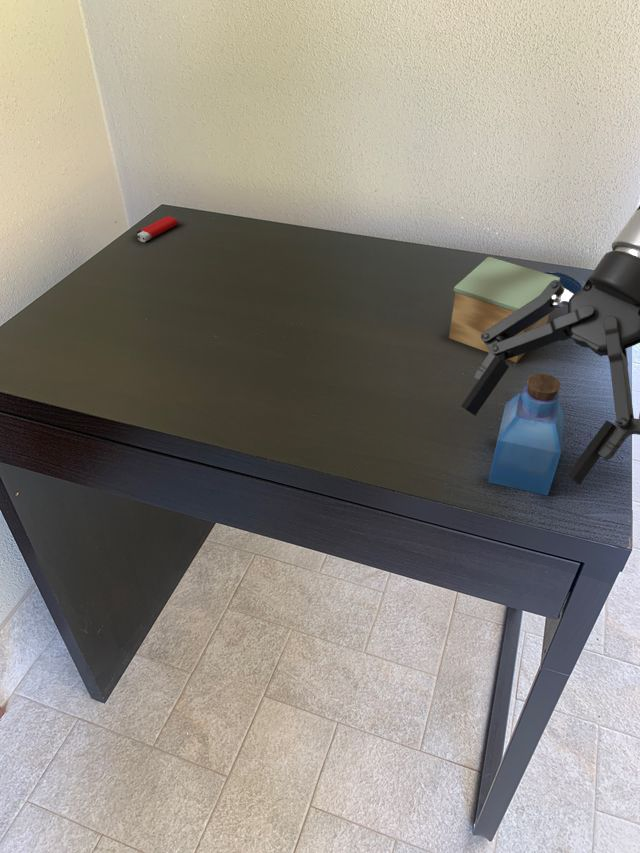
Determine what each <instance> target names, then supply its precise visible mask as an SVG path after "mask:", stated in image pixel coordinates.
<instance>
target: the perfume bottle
mask: <svg viewBox="0 0 640 853" xmlns="http://www.w3.org/2000/svg"><path fill="white" fill-rule="evenodd" d="M560 388H561V382H560V381H559V379H558V378H557V377H555V376H553V375H551V374H548V373H543V372H542V373H541V372H539V373H538V372H537V373H534V374H531V375H530V376H528V378H527V384H526V385H524V387H523V391H522V393H519V392H518V394H516V395H515V396H514V397H512V398H511V399H510V400H508V401H507V402H505V406H504V409H503V414H502V418H501V423H500V427H499V432H498V436H497V440H496V445H495V450H494V455H493V459H492V464H491V468H490V473H489V478H488V483H490V484H494V485H497V486H502V487H507V488H512V489H516V490H519V491H524V492H529V493H534V494H538V495H542V496H549V492H550V490H551V486H552V483H553V481H554V480H553V479H554V476H555V473H556V470H557V467H558V464H559V461H560V458H561V454H562V446H563V437H564V428H565V419H566V413H565V412H564V409H563V407H562V405H561V403H560V401H559V398H560V392H559V391H560Z"/></svg>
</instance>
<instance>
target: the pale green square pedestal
mask: <svg viewBox="0 0 640 853" xmlns="http://www.w3.org/2000/svg"><path fill="white" fill-rule="evenodd" d="M554 280H558V281H559V282H561V277H559V276H556V275H553V274H549V273H546V272H543V271H539V270H535V269H532V268H528V267H525V266H522V265H519V264H515V263H512V262H508V261H505V260H502V259H498V258H495V257H491V256H487V257H486V258H485V259H484V260H483V261H481V263H480V264H479V265H477V266H476V267H475V268H474V269H473V270H472V271H470V272H469V273H468V274H467V275H466V276H465V277H464V278H462V280H461V281H459V282H458V283H457V284H456V285H455V286H454V287H453V292H455V293H454V300H453V307H452V314H451V319H450V328H449V333H448V334H449V335H448V339H450V340H453V341H456V342H458V343H461V344H463V345H466V346H469V347H472V348H474V349H477V350H480V351H483V352H485V353H489V348H488V347H487V346H486V344H485V343H484V342H483V341H482V339H481V335H482V333H483V332H485V331H486V330H488V329H489V328H491V327H492V326H494V325H495V324H497V323H498V322H500V321H501V320H503V319H504V318H506V317H507V316H509V315H511V314H512V313H514V312H515V311H517V310H518V309H520V308H521V307H523V306H524V305H526V304H527V303H529V302H530V301H532V300H533V299H535V298H536V297H538V296H539V295H540V294H541V293H542V292H543V291H544V290H545V288H546V287H547V286H548V285H549V284H550V283H551V282H552V281H554ZM549 317H550V313H549V314H548V315H546V316H545V317H543V318H542V319H540V320H539V321H537V322H535V323H534V324H532V325H531V326H529V327H528V328H526V329H524V330H523V331H521V332H520V333H518V334H517V335H519V334H521V333H524V332H527V331H529V330H532V329H534V328H537V327H540V326H542V325H545V324H548V321H549ZM515 336H516V335H515ZM525 354H526V353H523V354H521V355H518V356H515V357H513V358H510V359H507V361H510V362H513V363H516V364H517V363H518V362H519V361H520V360H521V359H522V357H523V356H524V355H525Z"/></svg>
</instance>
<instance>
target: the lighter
mask: <svg viewBox="0 0 640 853" xmlns="http://www.w3.org/2000/svg"><path fill="white" fill-rule="evenodd" d="M178 222H179V221H178V220H177V219H176V218H174V217H172V216H169V215H167V216H165V217H163V218H160V219H159V220H157V221H155V222H153V223H151V224H149V225H147V226H145V227H143V228H141V229H139V230H137V231H136V236H137V240H138V241H139V242H142V243H146V242H148V241H149V240H152V239H154V238H155V237H157V236H159V235H161V234H163V233H165V232H167V231H168V230H171V229H172V228H174V227H176V226H178V225H179V223H178Z"/></svg>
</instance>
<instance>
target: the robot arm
mask: <svg viewBox="0 0 640 853" xmlns="http://www.w3.org/2000/svg"><path fill="white" fill-rule="evenodd" d="M565 305H567V313H565V314H563V315H560V316H558V317H555V318H553V319H551V320H550V322H547V324H545V325H542V326H540V327H537V328H534V329H532V330H529V331H527V332H524V333H521V334H519V335H517V334H518V333H520V332H521V331H523V330H524V329H526V328H528V327H529V326H531V325H532V324H534V323H535V322H537V321H539V320H540V319H542V318H543V317H545V316H546V315H548V314H549V315H550V314H551V313H552V312H553V311H555V309H561V308H563V306H565ZM515 335H516V336H515ZM481 339H482V341H483V342H484V343H485V344H486V346H487V347H488V348H489V353H488V352H487V353H488V354H487V355H486V357H485V358H484V359H483V361H482V362H481V364H480V366H478V369H477V370H476V371H475V373H474V376H473V378H474V379H475V380H476V381H477V382H476V383H475V385H474V386H473V388H472V389H471V391H470V392H469V393H468V395H467V396H466V398H465V399H464V400H463V402H462V403H461V405H460V407H461V408H462V409H464V410H466V411H467V412H469V413H470V414H471V415H473V416H477V414H478V413H479V411H480V410H481V409H482V407H483V406H484V404H485V402H486V401H487V400H488V399H489V397H490V395H491V394H492V392H493V391H494V389H495V388H496V387H497V386H498V384H499V382H500V381H501V380H502V378H503V377H504V375H505V374H506V372H507V371H508V369H509V368H510V365H508V363H507V361H508V359H510V358H513V357H515V356H518V355H521V354H523V353H525V354H526V353H529V352H531V351H534V350H537V349H540V348H543V347H545V346H548V345H551V344H554V343H556V342H559V341H562V342H564V341H567V340H570V339H572V340H573V342H574V343H575V344H576V345H579V346H581V347H583V348H587V349H590V350H591V351H592V352H593V353H595V355H598V356H600V357H601V358H602V357H603V356H607V357H608V362H609V368H610V377H611V385H612V394H613V404H614V411H615V412H614V413H615V420H614V422H615V424H614V423H613V422H611V421H609V420H607V419H606V420H605V421H604V423H603V424H602V425H601V427H600V428H599V430H598V431H597V432H596V434H595V435H594V437H593V438H592V439H591V441H590V442H589V443H588V445H587V446H586V448H585V449H584V450H583V452H582V453H581V455H580V456H579V457H578V459H577V460H576V462H575V463H574V464H573V466H572V467H571V469H569V471H568V472H567V474H566V477H567V478H569V479H571V481H574V482H575V483H577V484H578V485H581V483H582V482H583V481H584V480H585V478H586V477H587V476H588V474H589V473H590V471H591V470H592V469H593V467H594V466H595V465H596V463H597V462H598V461H599V459H600V458H602V459H604V461H609V460H611V459H613V457H614V456H615V455H616V453H617V452H618V450H619V449H620V448H621V447H622V445H623V443H625V441H626V439H627V438H628V437H629V436H632V435H639V436H640V413H638V418H636V417H634V416H635V415H634V408H633V400H632V390H631V383H630V374H629V361H628V351H627V349H628V348H631V347H634V346H636V345H638V344H640V204H639V206H638V207H637V208H636V210H635V211H634V213H633V214H632V215H631V217H630V218H629V220H628V221H627V223H625V225H624V227H623V228H622V229H621V231H620V232H619V233H618V235H617V236H616V237H615V239H614V240H613V242H612V243H611V250H610V251H608V252H606V253H605V254H604V255H603V256H602V258H601V259H600V261H599V262H598V264H597V265H596V267H595V268H594V269H593V270H592V272H591V274H590V275H589V276H588V278H587V279H586V282H585V284H584V285H583V287H582V288H581V289H580V290H579V291H577V292H575V293H573V292H572V291H570V290H569V289H567V288H565V287H564V286H563V284H562V283H561V281H558V280H554V281H552V282H551V283H550V284H549V285H548V286H547V287H546V288H545V290H544V291H543V292H542V293H541V294H540V295H539V296H538V297H536V298H535V299H533V300H532V301H530V302H529V303H527V304H526V305H524V306H523V307H521V308H520V309H518V310H517V311H515V312H514V313H512V314H511V315H509V316H507V317H506V318H504V319H503V320H501V321H500V322H498V323H497V324H495V325H494V326H492V327H491V328H489V329H488V330H486V331H485V332H483V333H482V335H481Z"/></svg>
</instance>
